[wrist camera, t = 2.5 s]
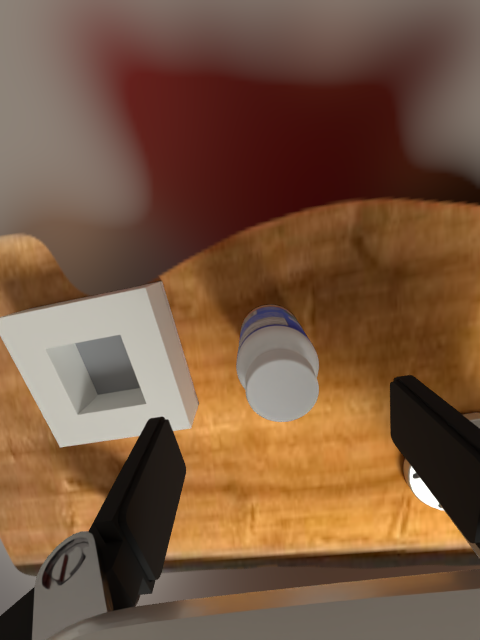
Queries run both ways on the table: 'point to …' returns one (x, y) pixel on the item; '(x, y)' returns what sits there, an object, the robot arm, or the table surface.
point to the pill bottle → (277, 364)
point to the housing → (103, 364)
